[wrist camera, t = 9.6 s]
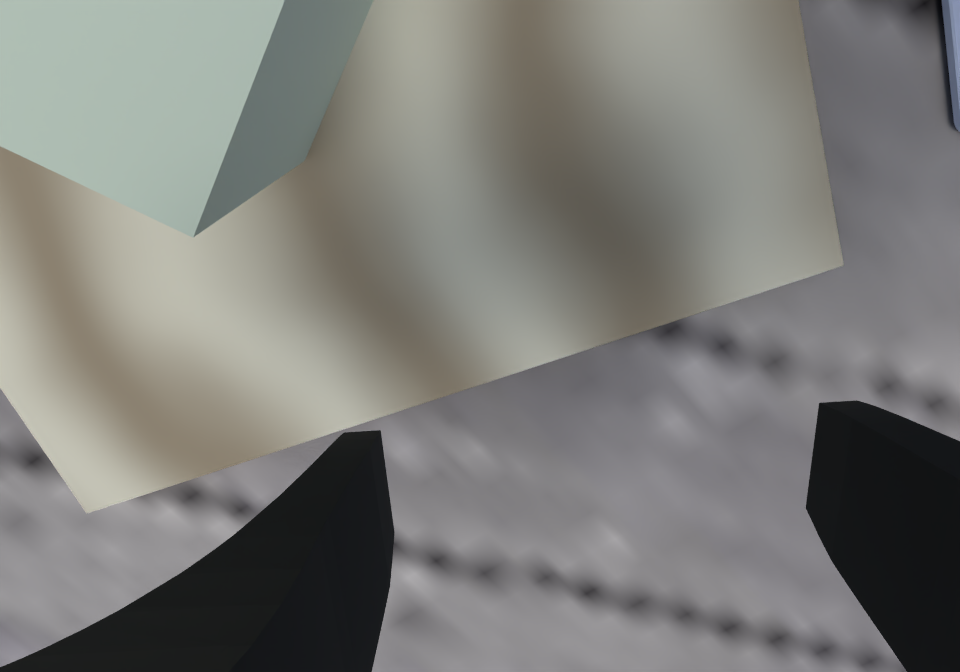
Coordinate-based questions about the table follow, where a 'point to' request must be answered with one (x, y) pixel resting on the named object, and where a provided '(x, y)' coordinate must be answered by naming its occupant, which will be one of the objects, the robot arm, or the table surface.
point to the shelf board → (421, 233)
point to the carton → (171, 95)
